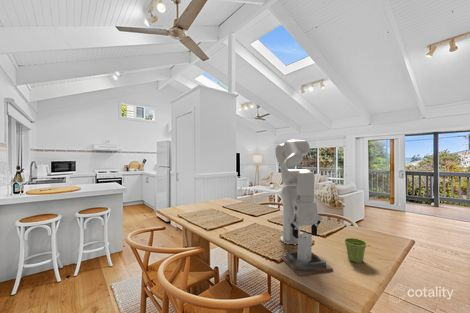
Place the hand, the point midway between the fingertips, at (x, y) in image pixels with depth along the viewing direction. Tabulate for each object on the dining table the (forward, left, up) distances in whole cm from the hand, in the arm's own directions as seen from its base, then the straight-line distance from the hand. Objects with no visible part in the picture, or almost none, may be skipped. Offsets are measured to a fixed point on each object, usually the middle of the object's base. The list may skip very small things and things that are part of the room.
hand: (304, 236), depth 96 cm
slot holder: (+1, 0, -12) cm, 12 cm away
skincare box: (0, 0, -12) cm, 12 cm away
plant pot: (+4, +25, -13) cm, 28 cm away
